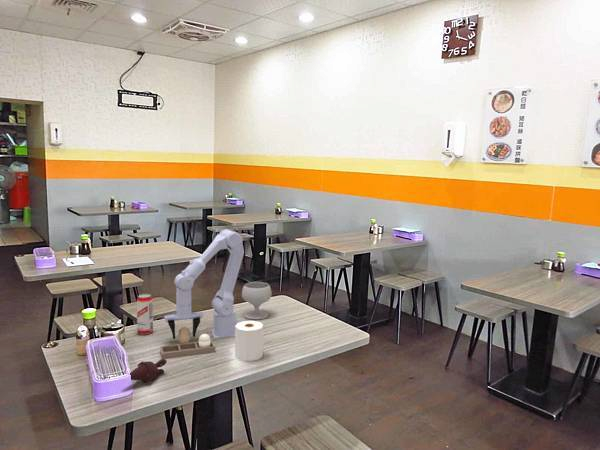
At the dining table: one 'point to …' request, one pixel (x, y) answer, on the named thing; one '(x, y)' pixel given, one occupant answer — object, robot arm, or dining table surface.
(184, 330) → the tan egg
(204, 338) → the cream egg
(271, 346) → the dining table surface
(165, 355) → the egg carton
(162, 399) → the dining table surface
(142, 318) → the beer can
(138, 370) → the brown plush toy
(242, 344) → the toilet paper
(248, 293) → the chalice
